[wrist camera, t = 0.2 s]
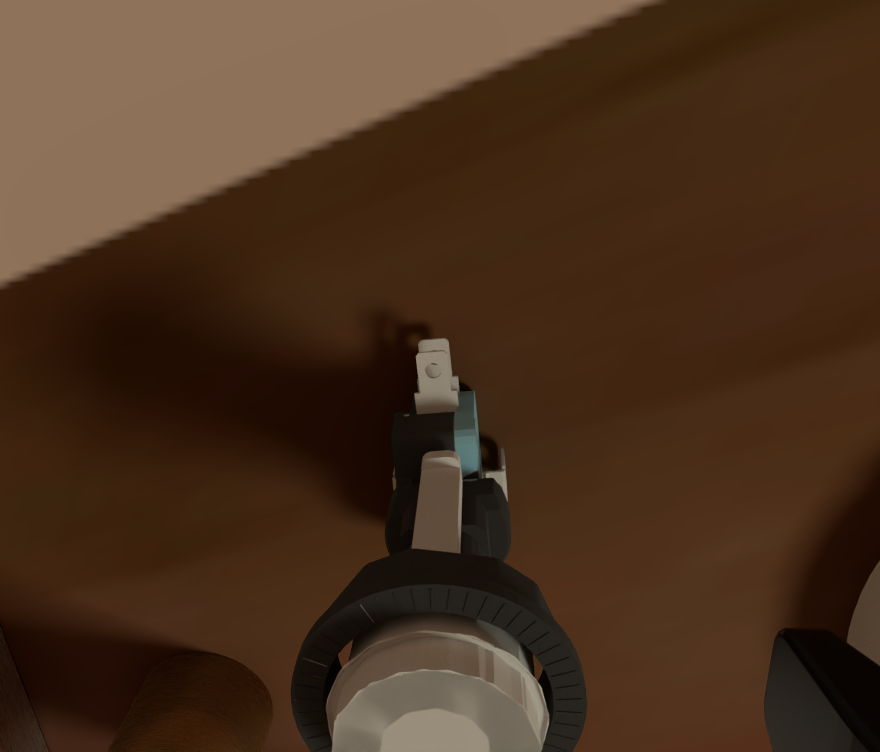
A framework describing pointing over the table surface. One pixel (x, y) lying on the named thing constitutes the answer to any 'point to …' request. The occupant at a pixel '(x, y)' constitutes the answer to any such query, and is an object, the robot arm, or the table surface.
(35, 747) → the jig
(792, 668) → the robot arm
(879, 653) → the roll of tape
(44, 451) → the table surface
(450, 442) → the push button
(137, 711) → the door knob
